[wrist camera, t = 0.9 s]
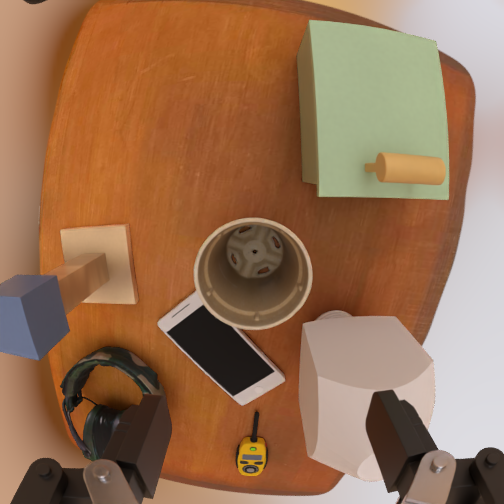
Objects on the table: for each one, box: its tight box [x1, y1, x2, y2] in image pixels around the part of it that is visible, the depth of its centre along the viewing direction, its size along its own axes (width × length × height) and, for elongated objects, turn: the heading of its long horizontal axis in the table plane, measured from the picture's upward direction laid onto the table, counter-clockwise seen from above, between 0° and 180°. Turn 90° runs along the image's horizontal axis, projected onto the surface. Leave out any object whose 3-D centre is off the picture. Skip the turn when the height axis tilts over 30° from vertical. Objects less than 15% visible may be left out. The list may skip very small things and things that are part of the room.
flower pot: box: [194, 218, 313, 330], centre depth 29 cm, size 9×9×9 cm
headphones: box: [60, 347, 167, 461], centre depth 35 cm, size 13×13×20 cm
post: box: [44, 224, 139, 315], centre depth 28 cm, size 9×9×12 cm
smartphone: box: [157, 291, 285, 405], centre depth 36 cm, size 7×16×1 cm, turn 39°
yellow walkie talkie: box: [236, 412, 268, 476], centre depth 39 cm, size 5×2×15 cm
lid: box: [308, 20, 449, 200], centre depth 19 cm, size 15×12×5 cm
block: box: [0, 275, 70, 360], centre depth 20 cm, size 5×5×5 cm
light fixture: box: [299, 310, 435, 482], centre depth 26 cm, size 9×9×20 cm
